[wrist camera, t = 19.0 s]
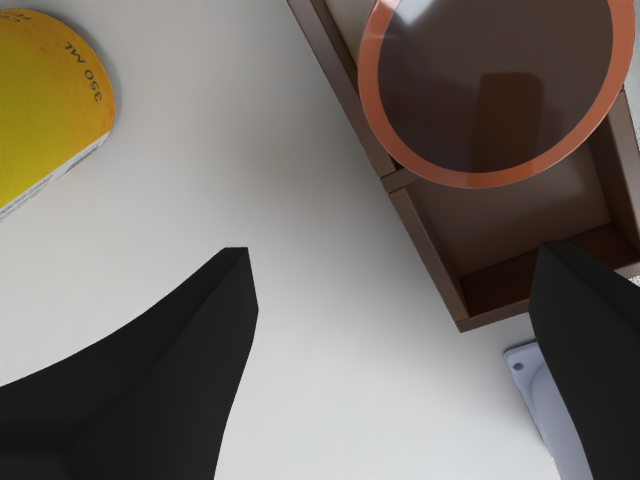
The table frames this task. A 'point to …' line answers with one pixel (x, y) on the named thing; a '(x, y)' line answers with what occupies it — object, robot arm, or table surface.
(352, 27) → the box
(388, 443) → the table surface
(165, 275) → the table surface
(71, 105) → the beer can
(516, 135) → the cup
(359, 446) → the table surface
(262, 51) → the table surface
